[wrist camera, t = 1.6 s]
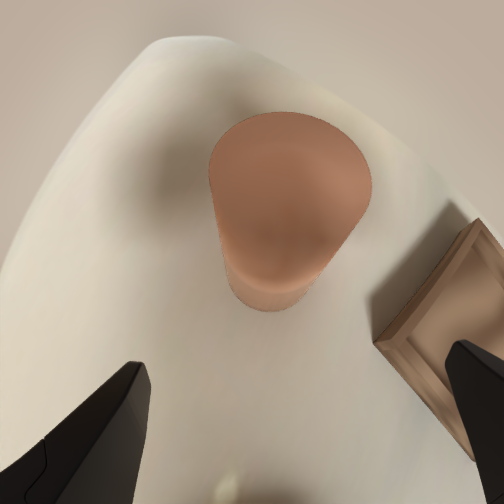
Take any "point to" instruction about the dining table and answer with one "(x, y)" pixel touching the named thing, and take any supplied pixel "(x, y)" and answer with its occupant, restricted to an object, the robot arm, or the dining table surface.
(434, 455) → the dining table surface
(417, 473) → the dining table surface
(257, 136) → the terracotta cylinder
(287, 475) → the dining table surface
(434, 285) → the box
